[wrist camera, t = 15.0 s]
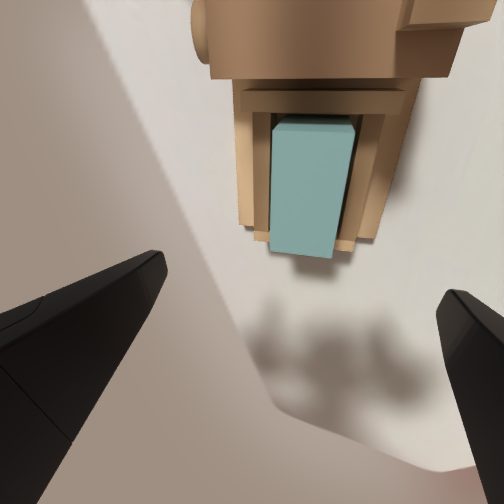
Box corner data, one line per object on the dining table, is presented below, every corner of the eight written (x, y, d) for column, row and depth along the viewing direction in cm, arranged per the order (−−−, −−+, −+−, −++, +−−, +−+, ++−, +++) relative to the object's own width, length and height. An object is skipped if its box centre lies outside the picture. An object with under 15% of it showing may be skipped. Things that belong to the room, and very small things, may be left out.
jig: (481, -156, 10) (527, -224, 8) (373, 231, 20) (379, 254, 17) (229, -116, 12) (204, -160, 10) (242, 219, 22) (231, 238, 19)
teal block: (348, 115, 15) (354, 132, 11) (331, 217, 19) (331, 258, 15) (286, 114, 16) (272, 130, 12) (281, 213, 20) (269, 251, 16)
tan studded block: (439, -24, 12) (541, -106, 6) (413, 73, 14) (471, 79, 8) (216, -7, 14) (137, -57, 8) (221, 75, 16) (161, 81, 10)
